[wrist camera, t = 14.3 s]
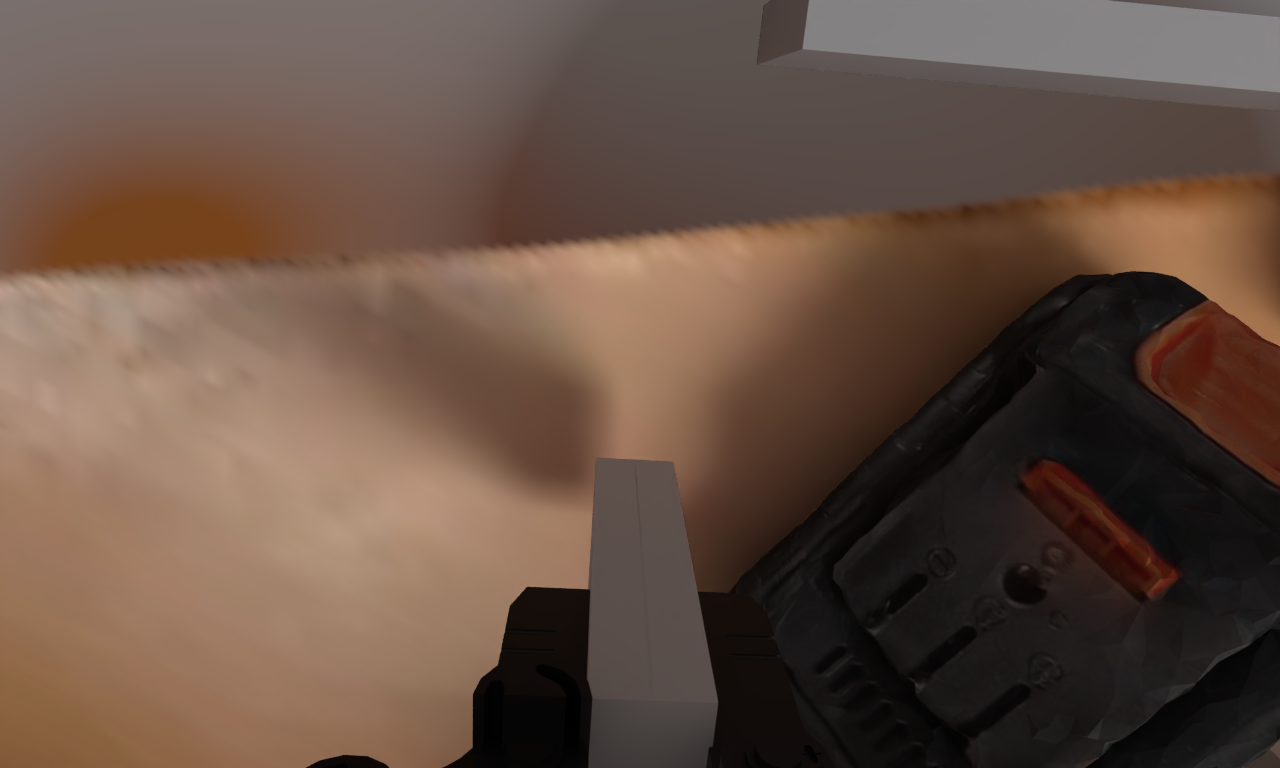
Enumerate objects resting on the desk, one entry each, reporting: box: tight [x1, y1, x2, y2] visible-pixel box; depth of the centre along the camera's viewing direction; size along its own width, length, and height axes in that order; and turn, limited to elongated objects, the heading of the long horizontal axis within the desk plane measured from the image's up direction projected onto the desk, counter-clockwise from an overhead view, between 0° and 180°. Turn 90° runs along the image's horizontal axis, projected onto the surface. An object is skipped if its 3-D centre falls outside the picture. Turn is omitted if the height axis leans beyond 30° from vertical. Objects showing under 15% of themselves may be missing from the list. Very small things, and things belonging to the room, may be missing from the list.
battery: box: [729, 271, 1280, 768], centre depth 15 cm, size 12×8×7 cm
